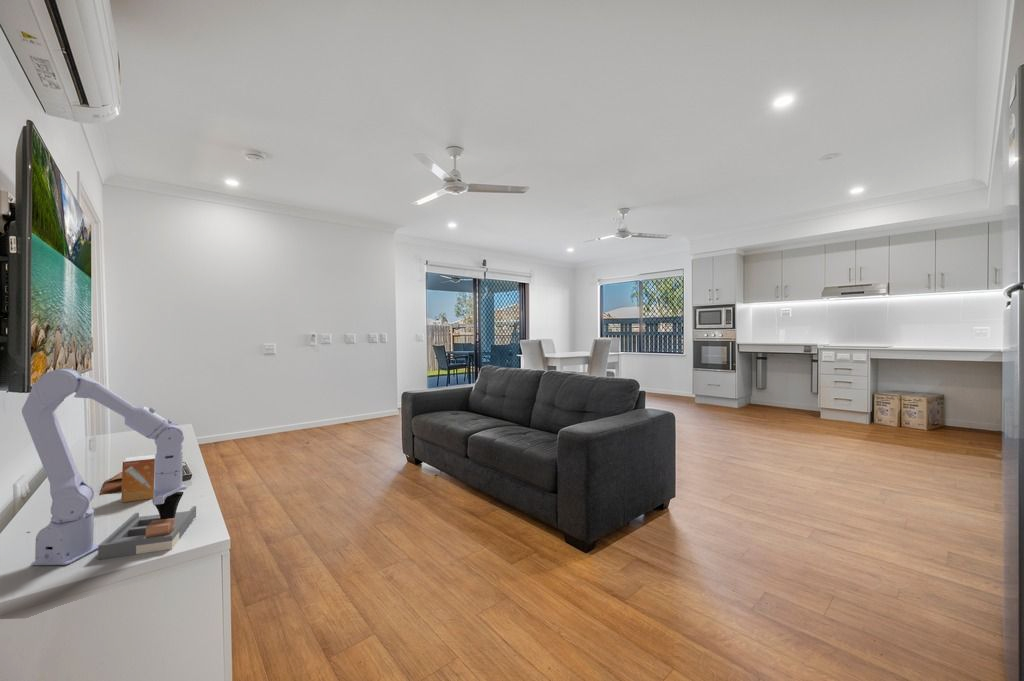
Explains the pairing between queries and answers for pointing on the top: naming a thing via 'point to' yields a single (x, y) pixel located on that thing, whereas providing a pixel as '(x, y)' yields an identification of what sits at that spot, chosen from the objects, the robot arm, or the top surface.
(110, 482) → the sunglasses case
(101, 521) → the top surface
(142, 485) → the small box
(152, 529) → the block
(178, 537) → the grey divided tray
